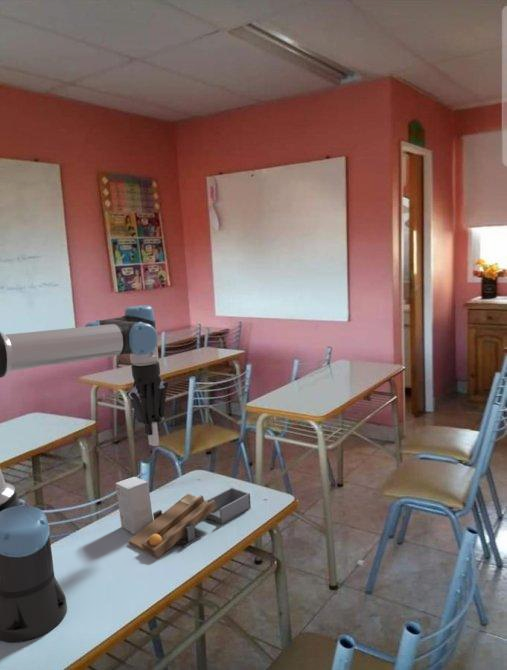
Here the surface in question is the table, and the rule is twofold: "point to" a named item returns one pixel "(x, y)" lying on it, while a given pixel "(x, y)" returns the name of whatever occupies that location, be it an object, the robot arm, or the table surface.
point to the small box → (134, 504)
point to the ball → (155, 540)
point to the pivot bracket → (187, 538)
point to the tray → (229, 505)
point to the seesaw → (173, 524)
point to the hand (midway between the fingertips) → (154, 444)
